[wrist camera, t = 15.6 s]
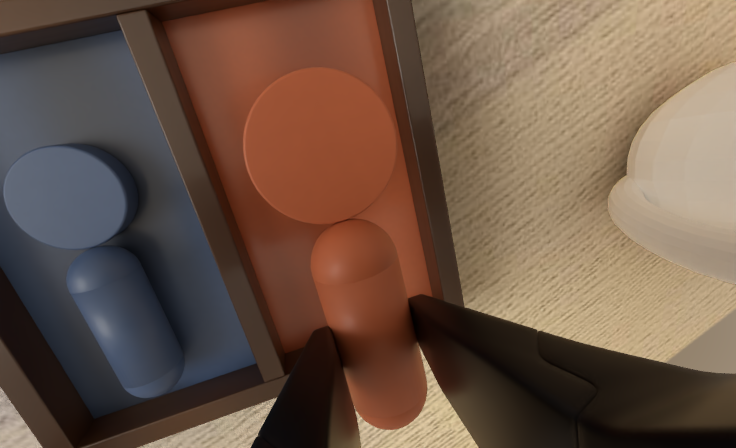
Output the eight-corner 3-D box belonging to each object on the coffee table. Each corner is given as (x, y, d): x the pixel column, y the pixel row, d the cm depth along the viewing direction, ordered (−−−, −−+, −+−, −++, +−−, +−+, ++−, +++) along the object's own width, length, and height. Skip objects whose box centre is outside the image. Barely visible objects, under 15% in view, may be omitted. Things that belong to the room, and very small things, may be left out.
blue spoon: (214, 356, 14) (204, 392, 12) (129, 385, 14) (105, 426, 12) (113, 132, 12) (80, 134, 10) (3, 158, 11) (-54, 165, 9)
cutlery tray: (89, 430, 15) (61, 475, 13) (-146, 56, 10) (-242, 41, 8) (448, 306, 17) (468, 329, 15) (381, -45, 12) (399, -75, 11)
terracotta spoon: (436, 370, 11) (468, 421, 9) (333, 409, 11) (345, 471, 9) (368, 58, 8) (394, 39, 6) (225, 91, 8) (208, 82, 6)
